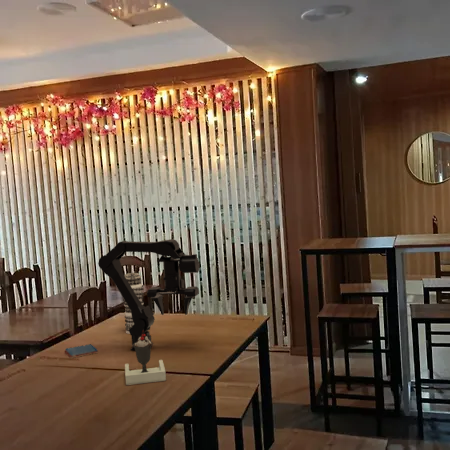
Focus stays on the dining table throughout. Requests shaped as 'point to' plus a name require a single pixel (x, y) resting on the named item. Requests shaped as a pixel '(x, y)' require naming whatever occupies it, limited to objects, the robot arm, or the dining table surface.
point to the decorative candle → (136, 285)
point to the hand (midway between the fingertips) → (174, 314)
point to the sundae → (143, 351)
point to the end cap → (145, 375)
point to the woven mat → (81, 351)
